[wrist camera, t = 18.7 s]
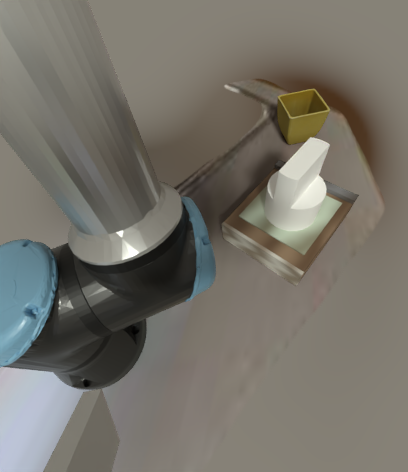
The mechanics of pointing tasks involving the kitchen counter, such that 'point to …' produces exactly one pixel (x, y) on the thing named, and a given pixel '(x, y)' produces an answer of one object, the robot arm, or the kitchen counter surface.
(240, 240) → the dock
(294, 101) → the flower pot
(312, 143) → the cylinder with rectangular tab
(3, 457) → the kitchen counter surface
